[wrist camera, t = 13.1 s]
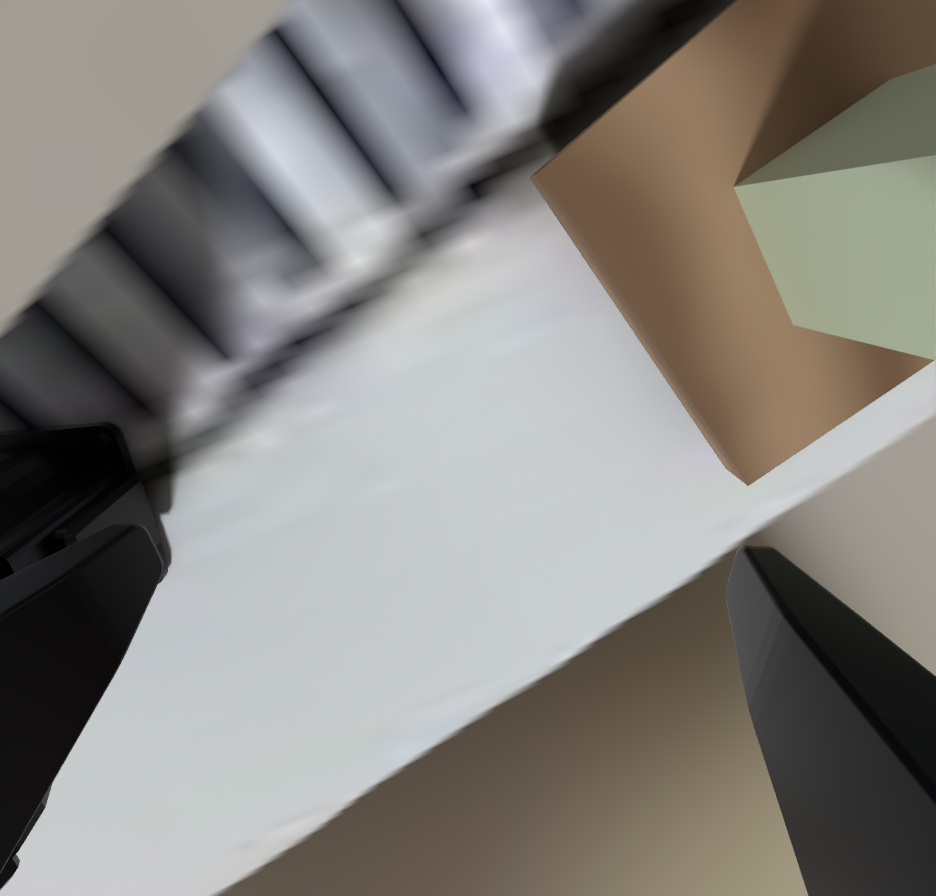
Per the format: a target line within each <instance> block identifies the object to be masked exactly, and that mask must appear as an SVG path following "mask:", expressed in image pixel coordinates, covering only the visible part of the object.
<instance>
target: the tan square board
mask: <svg viewBox="0 0 936 896" xmlns="http://www.w3.org/2000/svg"><path fill="white" fill-rule="evenodd" d="M934 64H936V0H734V1H733V2H732V3H731V4H730V5H728V6H727V7H726V8H725V9H724V10H723V11H721V12H720V13H719V14H718V15H717V16H716V17H715V18H713V19H712V20H711V21H710V22H709V23H708V24H706V25H705V26H704V27H703V28H702V29H701V30H699V31H698V32H697V33H696V34H695V35H694V36H693V37H691V38H690V39H689V40H688V41H687V42H686V43H684V44H683V45H682V46H681V47H680V48H679V49H678V50H676V51H675V52H674V53H673V54H672V55H671V56H669V57H668V58H667V59H666V60H665V61H664V62H662V63H661V64H660V65H659V66H658V67H657V68H656V69H654V70H653V71H652V72H651V73H650V74H649V75H647V76H646V77H645V78H644V79H643V80H642V81H641V82H639V83H638V84H637V85H636V86H635V87H634V88H632V89H631V90H630V91H629V92H628V93H627V94H625V95H624V96H623V97H622V98H621V99H620V100H619V101H617V102H616V103H615V104H614V105H613V106H612V107H610V108H609V109H608V110H607V111H606V112H605V113H604V114H602V115H601V116H600V117H599V118H598V119H597V120H595V121H594V122H593V123H592V124H591V125H590V126H588V127H587V128H586V129H585V130H584V131H583V132H582V133H580V134H579V135H578V136H577V137H576V138H575V139H573V140H572V141H571V142H570V143H569V144H568V145H567V146H565V147H564V148H563V149H562V150H561V151H560V152H558V153H557V154H556V155H555V156H554V157H553V158H551V159H550V160H549V161H548V162H547V163H546V164H545V165H543V166H542V167H541V168H540V169H539V170H538V171H536V172H535V173H534V174H533V175H532V176H531V177H530V179H531V180H532V182H533V183H534V185H535V186H536V188H537V189H538V191H539V192H540V194H541V195H542V197H543V198H544V200H545V201H546V203H547V204H548V206H549V207H550V209H551V210H552V212H553V213H554V214H555V216H556V217H557V219H558V220H559V222H560V223H561V225H562V226H563V228H564V229H565V231H566V232H567V234H568V235H569V237H570V238H571V240H572V241H573V243H574V244H575V246H576V247H577V249H578V250H579V252H580V253H581V255H582V256H583V258H584V259H585V260H586V262H587V263H588V265H589V266H590V268H591V269H592V271H593V272H594V274H595V275H596V277H597V278H598V280H599V281H600V283H601V284H602V286H603V287H604V289H605V290H606V292H607V293H608V295H609V296H610V298H611V299H612V301H613V302H614V304H615V305H616V307H617V308H618V309H619V311H620V312H621V314H622V315H623V317H624V318H625V320H626V321H627V323H628V324H629V326H630V327H631V329H632V330H633V332H634V333H635V335H636V336H637V338H638V339H639V341H640V342H641V344H642V345H643V347H644V348H645V350H646V351H647V353H648V354H649V355H650V357H651V358H652V360H653V361H654V363H655V364H656V366H657V367H658V369H659V370H660V372H661V373H662V375H663V376H664V378H665V379H666V381H667V382H668V384H669V385H670V387H671V388H672V390H673V391H674V393H675V394H676V396H677V397H678V399H679V400H680V401H681V403H682V404H683V406H684V407H685V409H686V410H687V412H688V413H689V415H690V416H691V418H692V419H693V421H694V422H695V424H696V425H697V427H698V428H699V430H700V431H701V433H702V434H703V436H704V437H705V439H706V440H707V442H708V443H709V445H710V446H711V448H712V449H713V450H714V452H715V453H716V455H717V456H718V458H719V459H720V461H721V462H722V464H723V465H724V467H725V468H726V469H727V470H728V471H730V472H731V473H732V474H733V475H735V476H736V477H737V478H739V479H740V480H741V481H742V482H744V483H745V484H746V485H747V486H749V485H750V484H752V483H753V482H755V481H756V480H758V479H759V478H761V477H762V476H764V475H765V474H767V473H768V472H770V471H771V470H772V469H774V468H775V467H777V466H778V465H780V464H781V463H783V462H784V461H786V460H787V459H789V458H790V457H792V456H793V455H795V454H796V453H798V452H799V451H801V450H802V449H804V448H805V447H807V446H808V445H810V444H811V443H813V442H814V441H816V440H817V439H818V438H820V437H821V436H823V435H824V434H826V433H827V432H829V431H830V430H832V429H833V428H835V427H836V426H838V425H839V424H841V423H842V422H844V421H845V420H847V419H848V418H850V417H851V416H853V415H854V414H856V413H857V412H859V411H860V410H861V409H863V408H864V407H866V406H867V405H869V404H870V403H872V402H873V401H875V400H876V399H878V398H879V397H881V396H882V395H884V394H885V393H887V392H888V391H890V390H891V389H893V388H894V387H896V386H897V385H899V384H900V383H902V382H903V381H904V380H906V379H907V378H909V377H910V376H912V375H913V374H915V373H916V372H918V371H919V370H921V369H922V368H924V367H925V366H927V365H928V364H930V363H931V362H933V361H934V360H932V359H928V358H924V357H920V356H916V355H912V354H908V353H904V352H900V351H896V350H892V349H888V348H884V347H880V346H876V345H872V344H868V343H863V342H859V341H855V340H851V339H847V338H843V337H839V336H835V335H831V334H827V333H823V332H819V331H815V330H811V329H807V328H803V327H799V326H795V325H793V324H792V321H791V319H790V317H789V314H788V312H787V310H786V307H785V305H784V303H783V301H782V298H781V296H780V294H779V291H778V289H777V287H776V284H775V282H774V280H773V277H772V275H771V273H770V271H769V268H768V266H767V264H766V261H765V259H764V257H763V254H762V252H761V250H760V247H759V245H758V243H757V241H756V238H755V236H754V234H753V231H752V229H751V227H750V224H749V222H748V220H747V217H746V215H745V213H744V211H743V208H742V206H741V204H740V201H739V199H738V197H737V194H736V192H735V190H734V186H736V185H737V184H738V183H740V182H741V181H743V180H744V179H746V178H747V177H749V176H750V175H752V174H753V173H754V172H756V171H757V170H759V169H760V168H762V167H763V166H765V165H766V164H768V163H769V162H771V161H772V160H773V159H775V158H776V157H778V156H779V155H781V154H782V153H784V152H785V151H787V150H788V149H789V148H791V147H792V146H794V145H795V144H797V143H798V142H800V141H801V140H803V139H804V138H806V137H807V136H808V135H810V134H811V133H813V132H814V131H816V130H817V129H819V128H820V127H822V126H823V125H824V124H826V123H827V122H829V121H830V120H832V119H833V118H835V117H836V116H838V115H839V114H840V113H842V112H843V111H845V110H846V109H848V108H849V107H851V106H852V105H854V104H855V103H857V102H858V101H859V100H861V99H862V98H864V97H865V96H867V95H868V94H870V93H871V92H873V91H874V90H875V89H877V88H878V87H880V86H881V85H883V84H884V83H886V82H887V81H889V80H890V79H893V78H896V77H899V76H902V75H905V74H908V73H911V72H914V71H916V70H919V69H922V68H925V67H928V66H931V65H934Z"/></svg>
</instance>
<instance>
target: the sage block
mask: <svg viewBox="0 0 936 896" xmlns="http://www.w3.org/2000/svg"><path fill="white" fill-rule="evenodd" d="M734 190H735V192H736V194H737V197H738V199H739V201H740V204H741V206H742V208H743V211H744V213H745V215H746V217H747V220H748V222H749V224H750V227H751V229H752V231H753V234H754V236H755V238H756V241H757V243H758V245H759V247H760V250H761V252H762V254H763V257H764V259H765V261H766V264H767V266H768V268H769V271H770V273H771V275H772V277H773V280H774V282H775V284H776V287H777V289H778V291H779V294H780V296H781V298H782V301H783V303H784V305H785V307H786V310H787V312H788V314H789V317H790V319H791V321H792V324H793V325H795V326H799V327H803V328H807V329H811V330H815V331H819V332H823V333H827V334H831V335H835V336H839V337H843V338H847V339H851V340H855V341H859V342H863V343H868V344H872V345H876V346H880V347H884V348H888V349H892V350H896V351H900V352H904V353H908V354H912V355H916V356H920V357H924V358H928V359H932V360H936V64H934V65H931V66H928V67H925V68H922V69H919V70H916V71H914V72H911V73H908V74H905V75H902V76H899V77H896V78H893V79H890V80H889V81H887V82H886V83H884V84H883V85H881V86H880V87H878V88H877V89H875V90H874V91H873V92H871V93H870V94H868V95H867V96H865V97H864V98H862V99H861V100H859V101H858V102H857V103H855V104H854V105H852V106H851V107H849V108H848V109H846V110H845V111H843V112H842V113H840V114H839V115H838V116H836V117H835V118H833V119H832V120H830V121H829V122H827V123H826V124H824V125H823V126H822V127H820V128H819V129H817V130H816V131H814V132H813V133H811V134H810V135H808V136H807V137H806V138H804V139H803V140H801V141H800V142H798V143H797V144H795V145H794V146H792V147H791V148H789V149H788V150H787V151H785V152H784V153H782V154H781V155H779V156H778V157H776V158H775V159H773V160H772V161H771V162H769V163H768V164H766V165H765V166H763V167H762V168H760V169H759V170H757V171H756V172H754V173H753V174H752V175H750V176H749V177H747V178H746V179H744V180H743V181H741V182H740V183H738V184H737V185H736V186H734Z"/></svg>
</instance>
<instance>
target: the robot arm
mask: <svg viewBox="0 0 936 896" xmlns="http://www.w3.org/2000/svg"><path fill="white" fill-rule="evenodd" d="M100 433H104V434H106V435H107V436H108V438H109V442H106V441H104V440H103V439H102V438H101V436H100ZM160 539H161V538H160V534H159V532H158V529H157V526H156V523H155V520H154V517H153V514H152V511H151V508H150V505H149V502H148V499H147V496H146V493H145V490H144V487H143V484H142V482H141V481H140V480H139V479H138V478H137V475H136V472H135V469H134V467H133V464H132V461H131V458H130V455H129V452H128V449H127V446H126V443H125V440H124V437H123V434H122V432H121V431H120V429H119V428H118V427H117V426H116V425H114V424H111V423H108V422H99V423H89V424H79V425H68V426H58V427H48V428H37V429H27V430H17V431H7V432H0V890H1V889H2V888H3V887H4V886H5V885H6V883H7V882H8V881H9V880H10V879H11V877H12V876H13V874H14V873H15V871H16V870H17V868H18V866H19V862H20V860H19V858H18V856H17V855H16V853H17V852H18V851H19V849H20V848H21V846H22V844H23V843H24V841H25V840H26V838H27V836H28V835H29V833H30V832H31V830H32V828H33V827H34V825H35V823H36V822H37V820H38V819H39V817H40V815H41V814H42V812H43V810H44V809H45V807H46V803H47V800H48V796H49V793H50V789H51V786H52V783H53V781H54V779H55V777H56V776H57V774H58V772H59V771H60V769H61V767H62V765H63V764H64V762H65V760H66V758H67V757H68V755H69V753H70V751H71V750H72V748H73V746H74V745H75V743H76V741H77V739H78V738H79V736H80V734H81V732H82V731H83V729H84V727H85V725H86V724H87V722H88V720H89V719H90V717H91V715H92V713H93V712H94V710H95V708H96V706H97V705H98V703H99V701H100V699H101V698H102V696H103V694H104V693H105V691H106V689H107V687H108V686H109V684H110V682H111V680H112V679H113V677H114V675H115V673H116V671H117V670H118V668H119V666H120V664H121V662H122V660H123V658H124V656H125V654H126V652H127V650H128V648H129V646H130V643H131V641H132V639H133V637H134V635H135V633H136V630H137V628H138V626H139V624H140V622H141V620H142V617H143V615H144V613H145V611H146V609H147V606H148V604H149V602H150V600H151V598H152V596H153V593H154V591H155V589H156V587H157V585H158V584H159V583H160V582H161V581H162V580H163V579H164V577H165V576H166V575H167V572H168V567H167V564H166V561H165V558H164V555H163V552H162V549H161V546H160V543H159V541H160ZM726 601H727V606H728V612H729V617H730V621H731V627H732V632H733V637H734V641H735V646H736V651H737V656H738V661H739V666H740V671H741V676H742V681H743V686H744V691H745V695H746V700H747V704H748V709H749V712H750V715H751V718H752V722H753V725H754V729H755V732H756V735H757V738H758V741H759V744H760V747H761V750H762V753H763V756H764V760H765V763H766V766H767V769H768V772H769V775H770V778H771V781H772V784H773V788H774V791H775V793H776V797H777V800H778V803H779V806H780V809H781V812H782V815H783V818H784V821H785V825H786V827H787V831H788V834H789V837H790V840H791V843H792V846H793V849H794V852H795V855H796V858H797V862H798V865H799V868H800V871H801V874H802V877H803V880H804V883H805V886H806V889H807V892H808V895H809V896H936V676H935V675H933V674H932V673H931V672H930V671H928V670H927V669H926V668H925V667H923V666H922V665H921V664H920V663H918V662H917V661H916V660H914V659H913V658H912V657H911V656H910V655H908V654H907V653H906V652H905V651H903V650H902V649H901V648H900V647H898V646H897V645H896V644H895V643H893V642H892V641H891V640H889V639H888V638H887V637H886V636H884V635H883V634H882V633H881V632H879V631H878V630H877V629H876V628H874V627H873V626H872V625H871V624H869V623H868V622H867V621H866V620H864V619H863V618H862V617H861V616H859V615H858V614H857V613H856V612H854V611H853V610H852V609H850V608H849V607H848V606H847V605H845V604H844V603H843V602H842V601H841V600H839V599H838V598H837V597H836V596H834V595H833V594H832V593H831V592H829V591H828V590H827V589H826V588H824V587H823V586H822V585H820V584H819V583H818V582H817V581H815V580H814V579H813V578H812V577H810V576H809V575H808V574H806V573H805V572H804V571H803V570H802V569H800V568H799V567H798V566H797V565H795V564H794V563H793V562H792V561H790V560H789V559H788V558H786V557H785V556H784V555H783V554H782V553H780V552H779V551H778V550H776V549H775V548H773V547H769V546H752V545H744V546H741V547H740V548H739V549H738V550H737V552H736V555H735V559H734V562H733V566H732V570H731V573H730V577H729V581H728V584H727V589H726Z"/></svg>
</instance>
